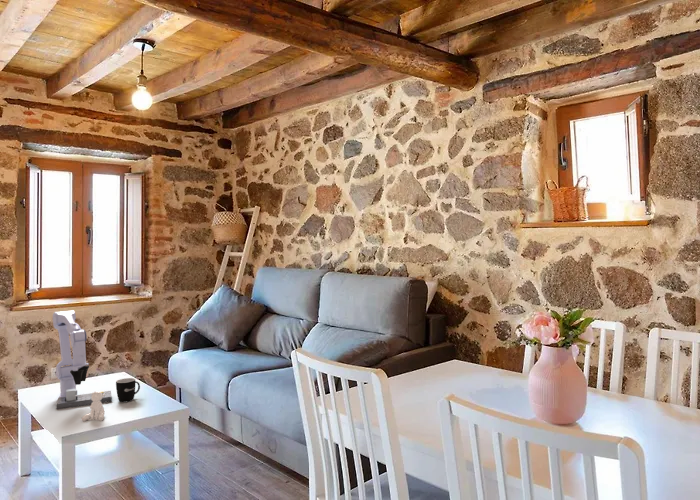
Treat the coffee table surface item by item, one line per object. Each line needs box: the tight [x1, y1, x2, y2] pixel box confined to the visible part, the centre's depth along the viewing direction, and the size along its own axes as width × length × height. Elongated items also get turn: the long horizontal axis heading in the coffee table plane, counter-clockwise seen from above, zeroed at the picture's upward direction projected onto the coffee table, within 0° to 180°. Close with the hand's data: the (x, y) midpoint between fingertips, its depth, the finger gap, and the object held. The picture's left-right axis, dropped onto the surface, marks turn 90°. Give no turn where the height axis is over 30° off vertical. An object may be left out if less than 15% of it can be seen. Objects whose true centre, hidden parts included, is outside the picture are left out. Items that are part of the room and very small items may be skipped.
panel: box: [56, 390, 113, 410], centre depth 262 cm, size 12×24×3 cm, turn 116°
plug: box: [66, 387, 78, 401], centre depth 260 cm, size 4×5×7 cm
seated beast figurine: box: [81, 390, 105, 422], centre depth 238 cm, size 10×9×12 cm
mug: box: [115, 377, 141, 403], centre depth 265 cm, size 12×9×10 cm
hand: (80, 382), depth 259 cm, fingers open, 7 cm apart
